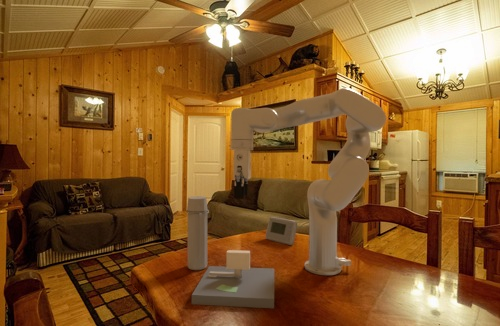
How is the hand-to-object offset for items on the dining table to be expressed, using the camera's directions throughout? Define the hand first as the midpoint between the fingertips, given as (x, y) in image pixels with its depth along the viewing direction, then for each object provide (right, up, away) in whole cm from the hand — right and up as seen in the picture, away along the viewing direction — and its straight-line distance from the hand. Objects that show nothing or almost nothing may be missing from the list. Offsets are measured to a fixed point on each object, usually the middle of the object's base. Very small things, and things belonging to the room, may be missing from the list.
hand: (241, 196), depth 94 cm
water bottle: (-15, -26, +5) cm, 31 cm away
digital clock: (+18, -26, +37) cm, 49 cm away
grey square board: (-1, -26, -10) cm, 28 cm away
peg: (-3, -24, -8) cm, 25 cm away
